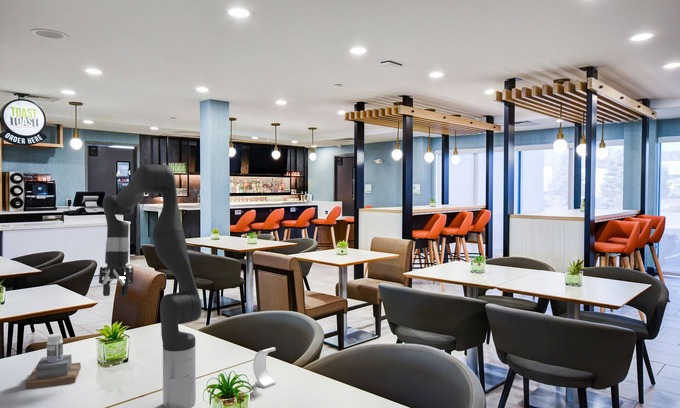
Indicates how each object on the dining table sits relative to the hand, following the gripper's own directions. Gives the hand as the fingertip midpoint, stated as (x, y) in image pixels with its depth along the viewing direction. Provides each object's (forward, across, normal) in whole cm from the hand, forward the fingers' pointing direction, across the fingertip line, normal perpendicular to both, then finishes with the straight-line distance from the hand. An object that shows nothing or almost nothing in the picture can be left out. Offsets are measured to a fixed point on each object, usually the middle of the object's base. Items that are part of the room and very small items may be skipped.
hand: (115, 296), depth 172 cm
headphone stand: (+28, +54, +14) cm, 63 cm away
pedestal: (+27, -13, -12) cm, 32 cm away
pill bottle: (+21, -12, -12) cm, 27 cm away
